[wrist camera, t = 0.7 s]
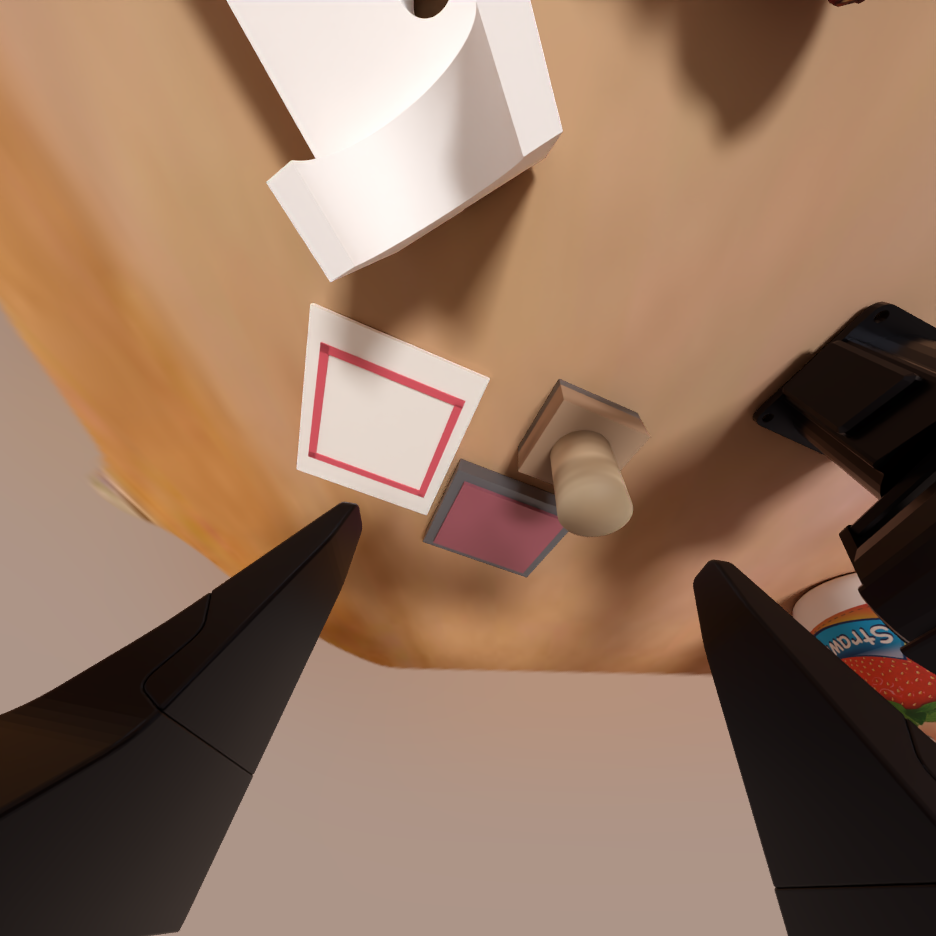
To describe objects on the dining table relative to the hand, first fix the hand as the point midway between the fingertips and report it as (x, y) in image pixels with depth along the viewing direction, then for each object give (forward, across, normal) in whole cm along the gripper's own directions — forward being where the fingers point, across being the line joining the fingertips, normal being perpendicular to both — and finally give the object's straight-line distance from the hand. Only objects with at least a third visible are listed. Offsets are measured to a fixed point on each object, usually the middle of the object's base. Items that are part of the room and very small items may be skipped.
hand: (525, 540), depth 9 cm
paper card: (+12, +8, +5) cm, 16 cm away
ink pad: (+12, 0, +12) cm, 17 cm away
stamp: (+12, -4, +4) cm, 14 cm away
